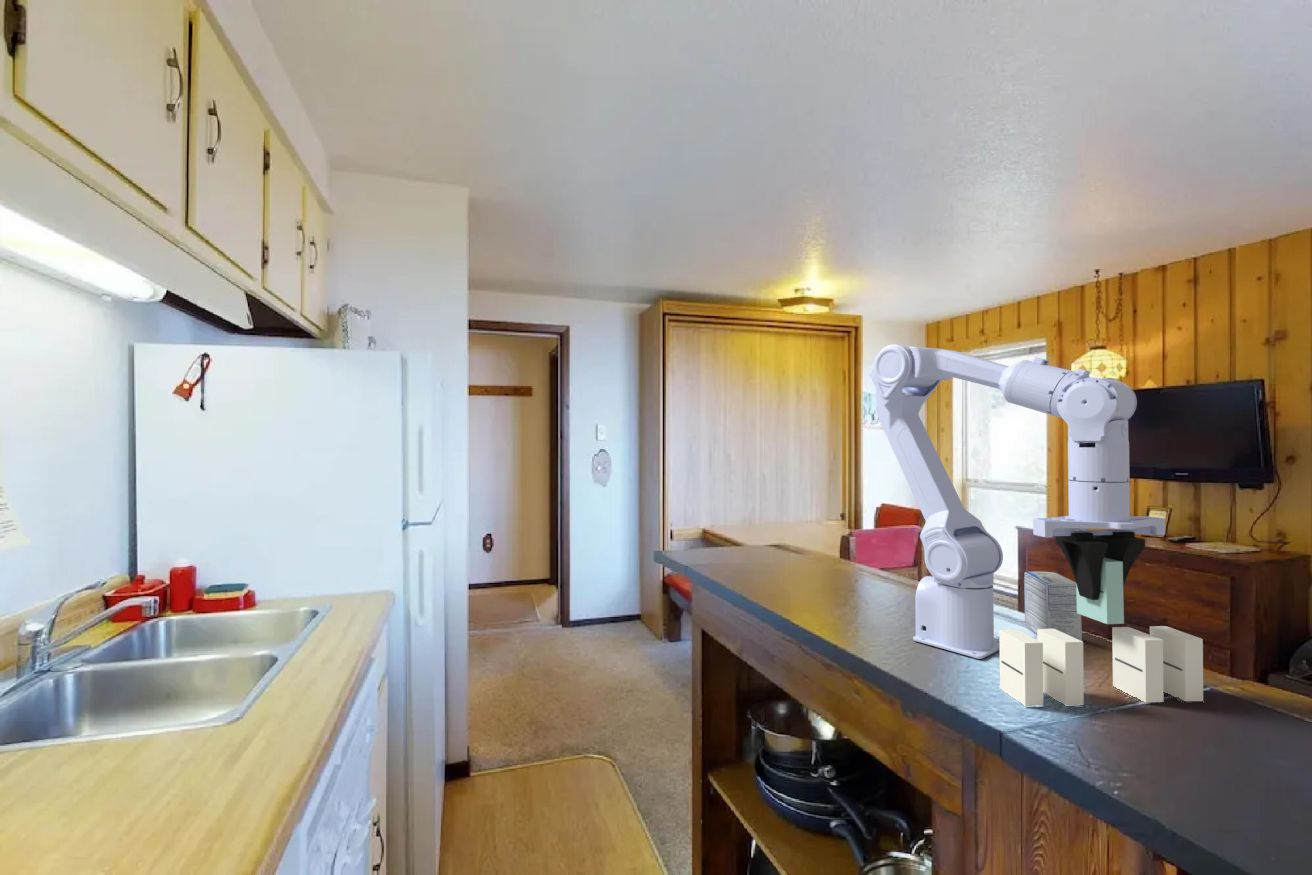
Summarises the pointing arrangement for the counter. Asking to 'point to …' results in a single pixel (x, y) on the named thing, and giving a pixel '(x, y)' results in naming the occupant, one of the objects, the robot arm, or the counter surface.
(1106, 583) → the domino
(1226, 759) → the counter surface
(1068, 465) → the robot arm
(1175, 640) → the domino
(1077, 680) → the domino
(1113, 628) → the domino
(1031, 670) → the domino
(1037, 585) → the medicine box
